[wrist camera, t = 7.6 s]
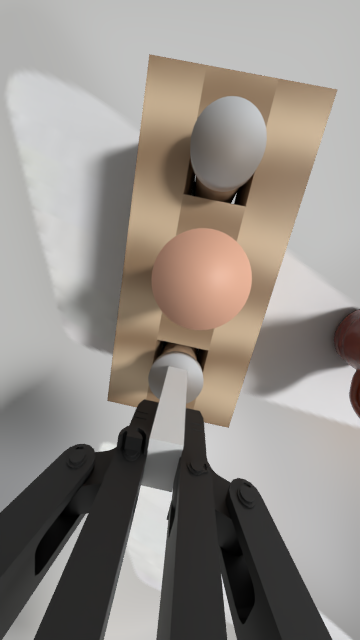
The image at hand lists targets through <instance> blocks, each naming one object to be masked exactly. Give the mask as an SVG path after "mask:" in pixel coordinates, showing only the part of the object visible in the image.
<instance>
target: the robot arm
mask: <svg viewBox="0 0 360 640" xmlns="http://www.w3.org/2000/svg"><path fill="white" fill-rule="evenodd" d="M187 372H188V370H185V369H180V368H175V367H171V366H169V367H168V371H167V374H166V378H165V382H164V386H163V390H162V393H161V397H160V401H159V402H155V401H150V400H146V399H144V400H143V401H141V402H140V403H139V404H138V406H137V409H136V411H135V413H134V416H133V418H132V420H131V423H130V425H129V426H127V427H125V428H124V429H122V430H121V432H120V433H119V436H118V442H117V447H116V448H114V449H112V450H109V451H103V452H94V449H93V448H92V447H91V446H90V445H86V444H77V445H75V446H72V447H70V448H69V449H67V450H66V451H64V452H63V453H62V454H61V455H60V456H59V457H58V458H57V459H56V460H55V461H54V462H53V463H52V464H51V465H50V466H49V467H48V468H47V469H46V470H45V471H44V472H43V473H41V474H40V475H39V477H37V478H36V479H35V480H34V481H33V482H32V483H31V484H30V485H29V486H28V487H27V488H26V489H25V490H24V491H23V492H22V493H21V494H20V495H19V496H17V498H15V500H13V501H12V502H11V503H10V504H9V505H8V506H7V507H6V508H5V509H4V510H3V511H2V512H1V513H0V640H2V639H3V637H4V636H5V634H6V633H7V631H8V630H9V628H10V627H11V625H12V624H13V622H14V621H15V619H16V618H17V616H18V615H19V613H20V612H21V610H22V609H23V607H24V606H25V604H26V603H27V601H28V600H29V598H30V596H31V595H32V594H33V592H34V591H35V589H36V588H37V586H38V585H39V583H40V582H41V580H42V579H43V577H44V576H45V574H46V573H47V571H48V570H49V568H50V566H51V565H52V563H53V562H54V561H55V559H56V558H57V556H58V555H59V553H60V552H61V550H62V549H63V547H64V545H65V544H66V543H67V541H68V540H69V538H70V536H71V535H72V534H73V532H74V531H75V529H76V528H77V526H78V525H79V523H80V522H81V520H82V518H83V517H84V516H85V514H86V513H89V514H88V516H87V518H86V521H85V523H84V525H83V528H82V530H81V532H80V534H79V537H78V539H77V542H76V544H75V546H74V548H73V551H72V553H71V555H70V557H69V560H68V562H67V564H66V566H65V569H64V571H63V573H62V576H61V578H60V581H59V583H58V585H57V587H56V590H55V592H54V594H53V596H52V599H51V601H50V603H49V606H48V608H47V610H46V613H45V615H44V617H43V619H42V622H41V624H40V627H39V629H38V631H37V634H36V635H35V638H34V640H104V636H105V632H106V628H107V623H108V619H109V615H110V611H111V607H112V603H113V599H114V594H115V590H116V586H117V582H118V578H119V574H120V570H121V566H122V562H123V558H124V553H125V549H126V545H127V541H128V537H129V533H130V529H131V525H132V521H133V516H134V512H135V508H136V504H137V500H138V495H139V490H140V486H141V485H143V486H147V487H152V488H156V489H160V490H165V491H169V492H172V489H173V494H172V501H171V504H170V508H169V512H168V516H167V520H168V530H167V540H166V550H165V560H164V570H163V580H162V590H161V600H160V611H159V620H158V629H157V640H227V633H226V622H225V612H224V601H223V591H222V580H221V574H222V579H223V583H224V587H225V591H226V595H227V599H228V603H229V608H230V612H231V616H232V620H233V624H234V628H235V633H236V636H237V640H332V638H331V636H330V634H329V632H328V630H327V628H326V626H325V624H324V622H323V620H322V618H321V616H320V614H319V612H318V610H317V608H316V606H315V604H314V602H313V600H312V598H311V596H310V594H309V592H308V590H307V588H306V586H305V584H304V582H303V580H302V578H301V576H300V574H299V572H298V569H297V568H296V565H295V563H294V561H293V559H292V558H291V556H290V553H289V551H288V549H287V547H286V546H285V543H284V541H283V539H282V537H281V535H280V533H279V531H278V529H277V527H276V525H275V523H274V521H273V519H272V517H271V515H270V513H269V511H268V509H267V507H266V505H265V503H264V501H263V499H262V497H261V495H260V494H259V492H258V490H257V489H256V488H255V487H254V486H253V485H252V484H251V483H250V482H248V481H246V480H244V479H240V478H237V479H234V480H233V481H232V482H231V483H230V482H229V481H227V480H225V479H224V478H222V477H220V476H218V475H217V474H216V473H215V472H214V471H213V470H212V469H211V467H210V465H209V463H208V461H207V457H206V444H205V433H204V418H203V416H202V414H201V412H200V411H198V410H194V409H189V408H186V392H187Z"/></svg>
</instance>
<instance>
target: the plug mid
mask: <svg viewBox="0 0 360 640" xmlns="http://www.w3.org/2000/svg"><path fill="white" fill-rule="evenodd" d="M151 281H152V291H153V295H154V298H155V300H156V303H157V305H158V306H159V308H160V309H161V311H162V312H163V313H164V314H165V315H166V316H167V317H168V318H169V319H170V320H171V321H173V322H174V323H176V324H177V325H179V326H182V327H184V328H188V329H192V330H209V329H213V328H217V327H219V326H222V325H224V324H226V323H227V322H229V321H230V320H232V319H233V318H234V317H235V316H236V315H237V314H238V313H239V312H240V311H241V309H242V308H243V306H244V305H245V303H246V301H247V299H248V296H249V294H250V290H251V284H252V271H251V266H250V263H249V259H248V257H247V255H246V253H245V252H244V250H243V248H242V247H241V246H240V245H239V244H238V243H237V242H236V241H235V240H234V239H233V238H232V237H230V236H229V235H227V234H225V233H223V232H221V231H218V230H214V229H208V228H197V229H191V230H188V231H185V232H183V233H181V234H178V235H177V236H175V237H174V238H172V239H171V240H170V241H169V242H168V243H167V244H166V245H165V246H164V247H163V248H162V250H161V251H160V253H159V254H158V256H157V258H156V260H155V263H154V266H153V270H152V278H151Z"/></svg>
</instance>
